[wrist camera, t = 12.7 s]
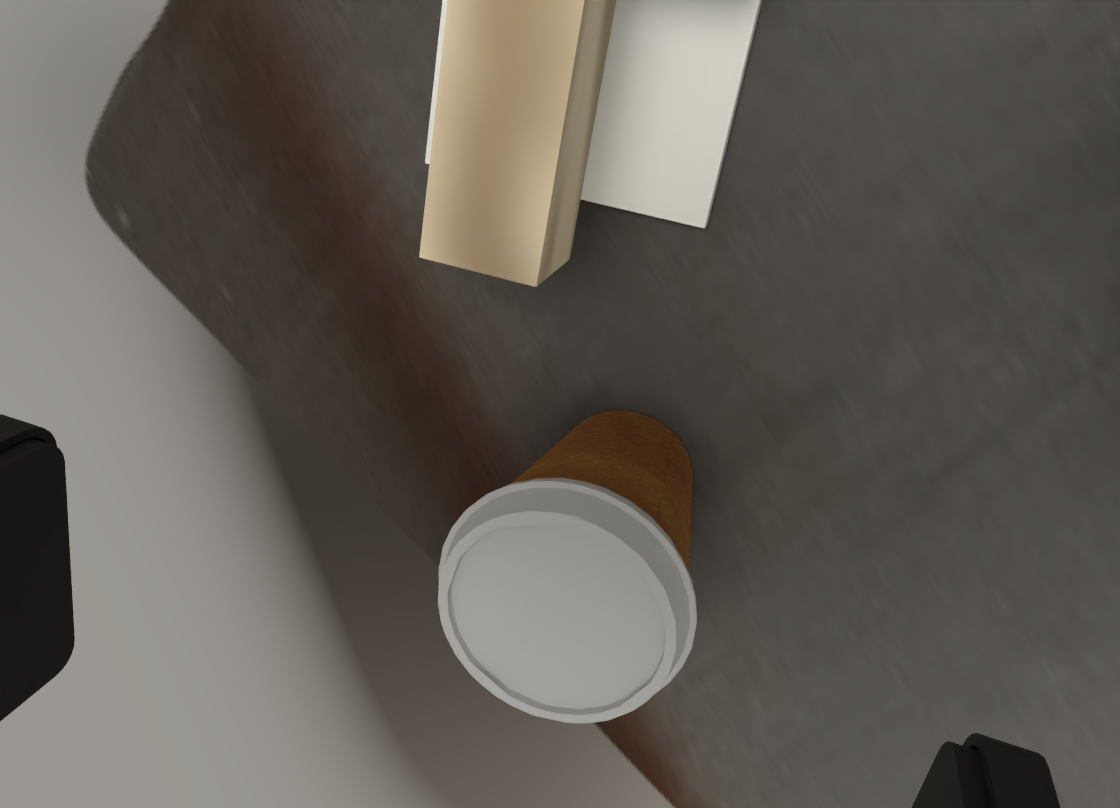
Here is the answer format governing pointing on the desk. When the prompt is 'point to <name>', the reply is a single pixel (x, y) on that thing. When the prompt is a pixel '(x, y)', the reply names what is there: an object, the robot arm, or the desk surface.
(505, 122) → the rod
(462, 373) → the desk surface
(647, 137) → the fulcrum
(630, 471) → the disposable coffee cup
